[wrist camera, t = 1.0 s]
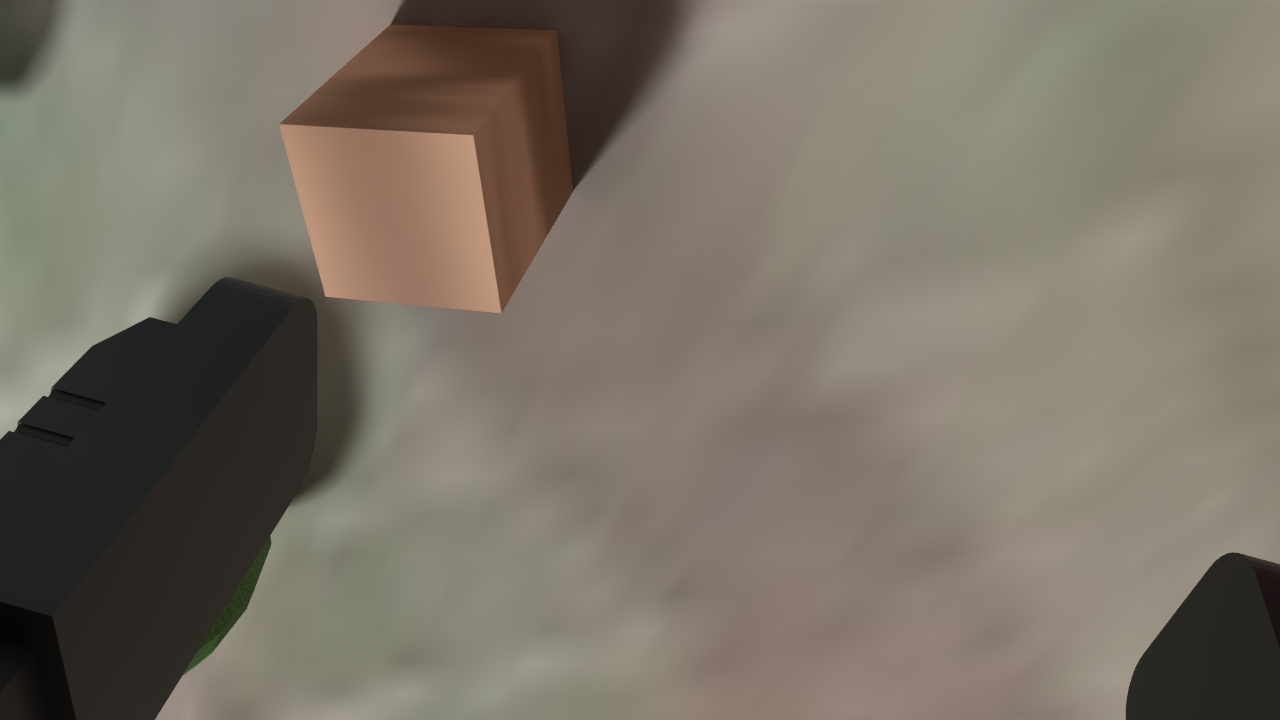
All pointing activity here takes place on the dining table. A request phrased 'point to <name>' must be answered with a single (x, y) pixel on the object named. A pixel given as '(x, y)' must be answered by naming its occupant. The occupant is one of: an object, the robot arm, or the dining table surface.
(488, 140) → the brown block
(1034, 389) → the dining table surface
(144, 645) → the robot arm
